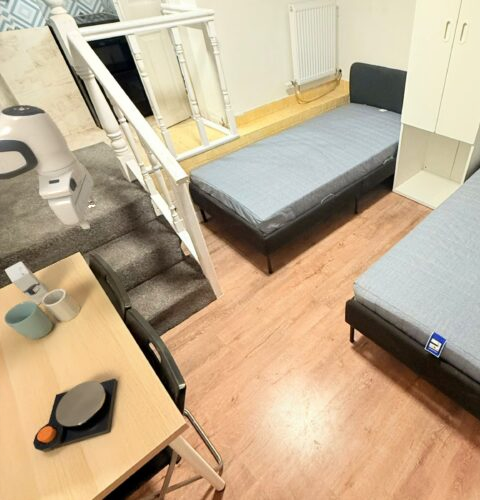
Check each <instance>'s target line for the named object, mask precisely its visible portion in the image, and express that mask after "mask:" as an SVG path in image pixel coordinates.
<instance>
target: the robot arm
mask: <svg viewBox="0 0 480 500" xmlns="http://www.w3.org/2000/svg"><path fill="white" fill-rule="evenodd" d="M33 169H34V170H35V171H36V173H37V174H38V175H37V178H38V182H39V187H38V194H39V196H40V197H41V199H43V200H47V203H48V205H49V207H50V209H51V210H52V212H53V213H54V214H55V216H56V217H57V218H58V219H59V221H60V222H61V223H62V224H64V225H65V226H73V225H79V226H80V227H81V229H83V230H89V229H90V228H91V222H90V221H89V219H85V213H86V210H87V207H88V209H89V210H92V209H95V208H96V207H97V202H96V200H95V198H94V194H93V191H92V190H93V188H94V185H95V183H94V179H93V177H92V175H91V174H90V173H89V171H88V169H87V168H86V166H85V165H84V164H83V163H81V162H80V161H79V160H78V158H77V155H76V154H75V153H74V152H72V150H71V149H70V148H69V145H68V142H67V140H66V137H65V136H64V134H63V132H62V131H61V129H60V128H59V126H58V124H57V123H56V122H55V121H54V119H53V118H52V117H51V115H50V114H49V113H47V111H46V110H44V109H43V108H40V107H38V106H35V105H34V106H33V105H30V104H29V105H28V104H20V105H11V106H9V107H5V108H3V109H2V110H1V111H0V181H4V180H10V179H13V178H16V177H18V176H21V175H23V174H26V173H28V172H30V171H32V170H33Z"/></svg>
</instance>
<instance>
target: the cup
mask: <svg viewBox="0 0 480 500" xmlns="http://www.w3.org/2000/svg"><path fill="white" fill-rule="evenodd" d="M3 320H4V322H5V324H7V326H9V327H10V328H11V329H12V330H14V331H15V332H16V333H18V334H19V335H21V336H22V337H24V338H27V339H29V340H39V339H41V338H43V337H45V336H47V335H48V334H49V333H50V332H51V331H52V329H53V321H52V319H51V318H50V316H49V315H48V314H47V313H46V311H44V309H42V307H40V306H39V305H37V304H35V303H34V302H33V301H32V300H31V301H30V300H28V301H27V300H26V301H23V302H20V303H18V304H16V305H14V306H12V307H11V309H9V310H8V311H7V312H6V313H5V315H4V319H3Z"/></svg>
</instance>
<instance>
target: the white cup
mask: <svg viewBox="0 0 480 500" xmlns="http://www.w3.org/2000/svg"><path fill="white" fill-rule="evenodd" d="M41 302H42V303H41V305H42V306H43V307H44V308H45V309H46V310H47V311H48V312H49V313H50V314H51V315H52V316H53V317H54V318H56V319H57V320H58V321H59V322H68V321H71V320H73V319H74V318H75V317H76V316H78V314H79V313H80V312H81V307H80V305H79V304H78V303H77V302H76V300H75V299H73V297H72V296H71V295H70V294H69V292H67V291H66V289H63V288H56V289H53V290H51V291H49V293H48V294H46V295H45V296H44V297H43V299H42V301H41Z"/></svg>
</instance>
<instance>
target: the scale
mask: <svg viewBox="0 0 480 500" xmlns="http://www.w3.org/2000/svg"><path fill="white" fill-rule="evenodd" d="M99 383H100V384H101V385H102V386H103V387H104V389H105V400H104V402H103V405H102V406H101V408H100V410H99V411H98V412H97V413H96V414H95V415H94V416H93V417H92V418H91V419H90V420H88V421H87V422H85V423H83V424H81V425H78V426H75V427H66V426H63V425H61V424H60V423H59V422H58V421H57V418H56V410H57V406H58V404H59V402H60V401H61V399H62V398H63V397H64V395H65V394H66V393H67V392H68V391H69V390H68V391H64V392H60V393H57V394H55V397H54V401H53V405H52V408H51V411H50V416H49V419H48V423H46V424H45V425H44V426H42V427H41V428H40V429H39V430H38V431H37V433H36V434H35V436H34V439H33V442H32V443H33V444H32V445H33V447H34V449H35V450H38V451H39V452H43V453H49V452H52V451H54V450H56V449H60V448H63V447H66V446H69V445H74V444H76V443H79V442H83V441H86V440H91V439H94V438H96V437H100V436H103V435H107V434H110V433H111V431H112V425H113V424H112V423H113V416H114V410H115V403H116V397H117V389H118V383H119V381H118V380H117V379H116V378H112V379H108V380H105V381H101V382H99ZM47 426H50V427H52V428H54V429H56V432H57V433H56V436H55V437H54V439H53V440H51V441H50V442H48V443H43V442H41V441H39V440H38V439H37V435H38V433H39V432H40V430H41V429H43V428H44V427H47Z"/></svg>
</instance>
